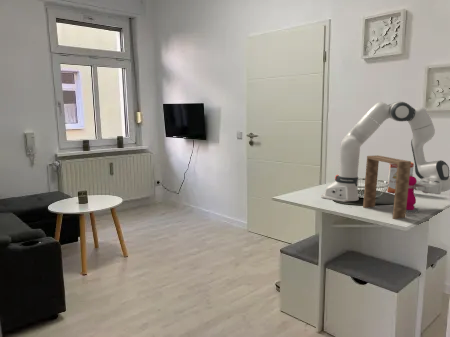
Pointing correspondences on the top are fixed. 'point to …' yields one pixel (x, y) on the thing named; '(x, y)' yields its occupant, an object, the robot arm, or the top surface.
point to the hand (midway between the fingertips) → (408, 186)
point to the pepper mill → (411, 193)
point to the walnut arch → (400, 187)
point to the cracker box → (394, 176)
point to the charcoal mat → (412, 210)
